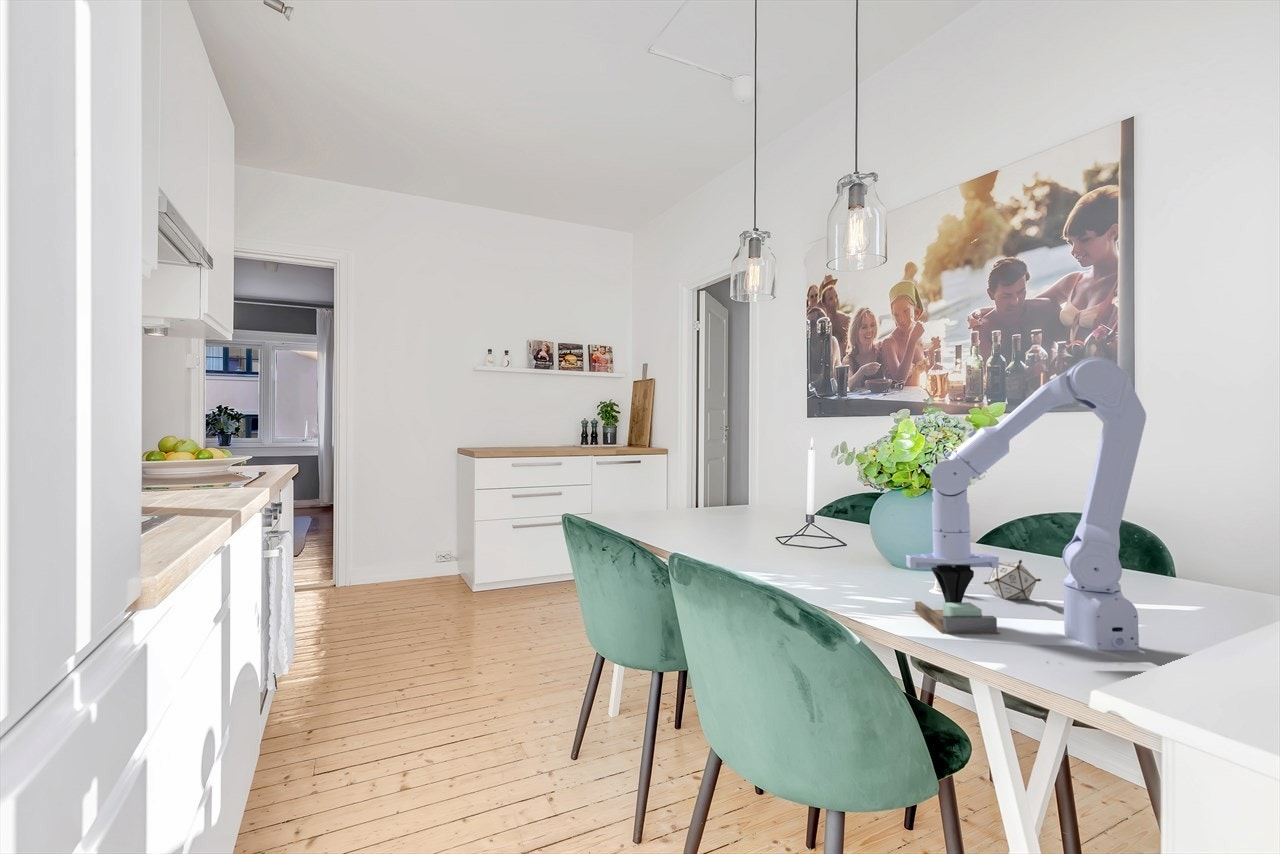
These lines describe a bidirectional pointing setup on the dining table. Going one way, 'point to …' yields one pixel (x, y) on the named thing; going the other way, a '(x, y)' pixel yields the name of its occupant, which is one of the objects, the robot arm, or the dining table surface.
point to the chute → (956, 622)
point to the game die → (1012, 581)
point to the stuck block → (961, 609)
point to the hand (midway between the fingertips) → (953, 609)
